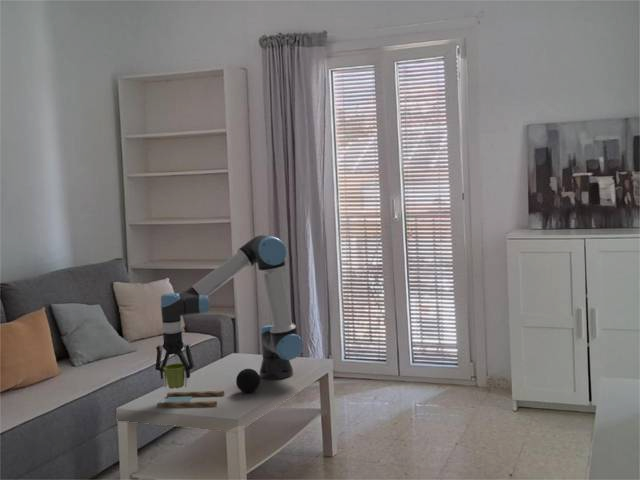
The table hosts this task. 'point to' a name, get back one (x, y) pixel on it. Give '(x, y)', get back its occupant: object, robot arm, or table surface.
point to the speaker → (248, 380)
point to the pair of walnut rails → (191, 404)
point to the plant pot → (175, 375)
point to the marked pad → (178, 399)
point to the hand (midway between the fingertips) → (176, 386)
